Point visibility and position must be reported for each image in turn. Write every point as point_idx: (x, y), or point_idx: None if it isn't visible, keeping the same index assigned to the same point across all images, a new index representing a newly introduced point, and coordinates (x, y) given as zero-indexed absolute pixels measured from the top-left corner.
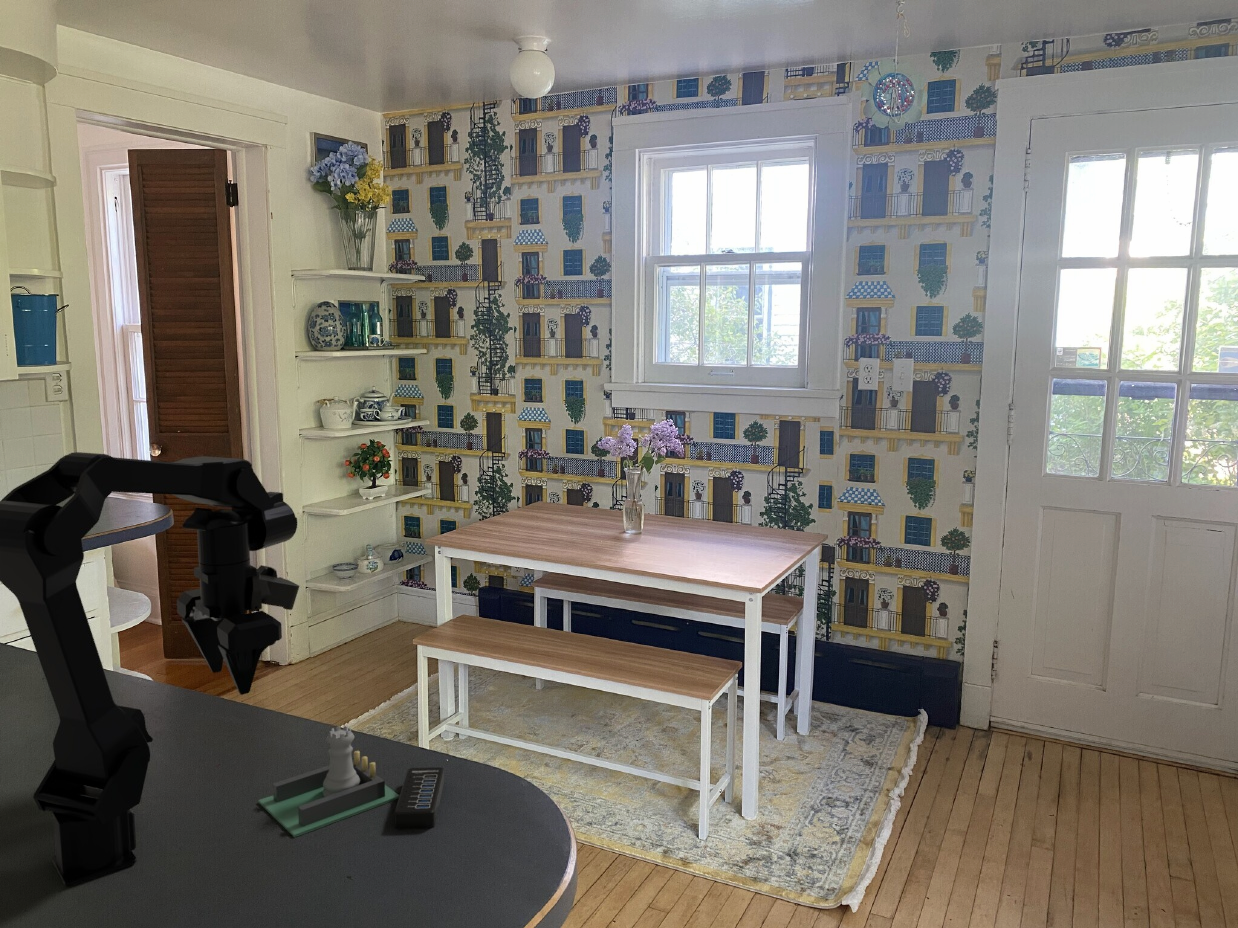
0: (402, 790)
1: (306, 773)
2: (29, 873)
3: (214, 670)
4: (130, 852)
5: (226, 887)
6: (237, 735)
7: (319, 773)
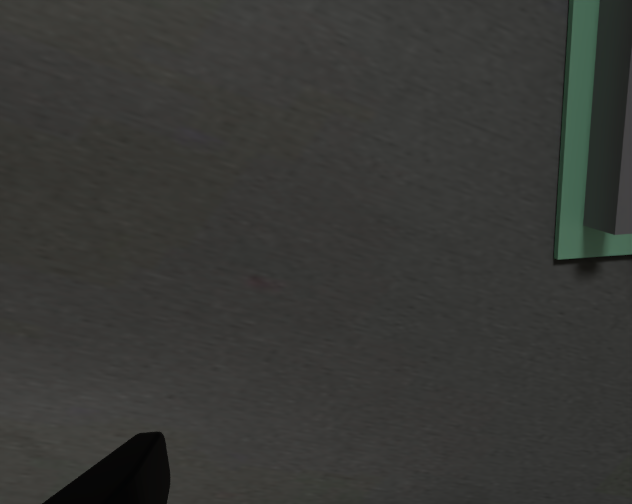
0: None
1: (629, 124)
2: None
3: (165, 484)
4: None
5: None
6: (64, 172)
7: None
